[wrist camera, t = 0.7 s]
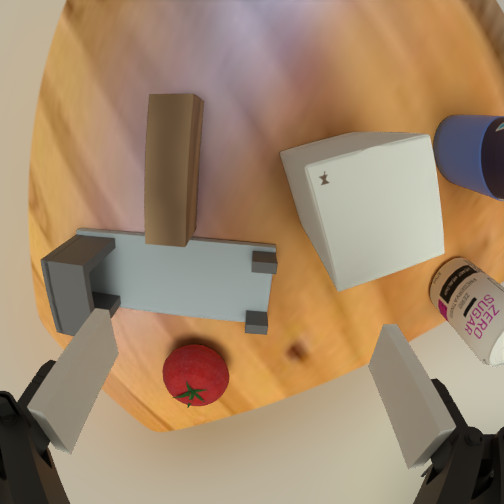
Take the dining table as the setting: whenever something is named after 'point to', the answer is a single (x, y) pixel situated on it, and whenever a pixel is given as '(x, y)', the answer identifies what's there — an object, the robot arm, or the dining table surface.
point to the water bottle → (472, 152)
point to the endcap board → (158, 278)
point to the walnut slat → (172, 168)
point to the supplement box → (367, 202)
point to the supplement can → (472, 307)
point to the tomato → (195, 375)
